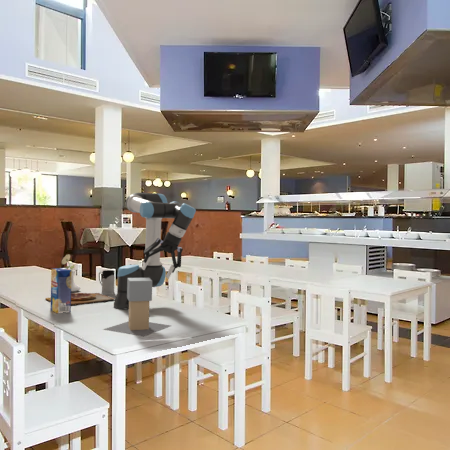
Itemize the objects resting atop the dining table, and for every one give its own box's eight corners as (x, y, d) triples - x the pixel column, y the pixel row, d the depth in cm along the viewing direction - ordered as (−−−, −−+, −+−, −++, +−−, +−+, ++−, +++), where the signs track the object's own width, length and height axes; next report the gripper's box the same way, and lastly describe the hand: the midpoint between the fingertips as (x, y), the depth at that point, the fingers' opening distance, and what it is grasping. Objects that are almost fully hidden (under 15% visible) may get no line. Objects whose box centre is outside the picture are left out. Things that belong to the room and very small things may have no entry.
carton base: (128, 325, 201) (129, 286, 201) (146, 324, 204) (147, 285, 203) (130, 330, 193) (131, 289, 193) (148, 329, 196) (149, 288, 196)
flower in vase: (73, 289, 298) (74, 252, 298) (83, 291, 291) (84, 254, 291) (56, 291, 288) (57, 253, 287) (66, 293, 281) (67, 255, 281)
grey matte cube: (126, 297, 201) (127, 277, 201) (148, 296, 205) (149, 277, 204) (129, 301, 192) (129, 281, 192) (151, 300, 195) (152, 280, 195)
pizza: (96, 294, 284) (96, 289, 284) (118, 301, 264) (119, 295, 264) (42, 300, 259) (42, 294, 259) (62, 308, 239) (62, 301, 239)
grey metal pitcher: (106, 295, 279) (107, 272, 279) (93, 292, 287) (93, 270, 287) (117, 293, 286) (118, 271, 286) (104, 291, 294) (104, 269, 294)
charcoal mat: (134, 320, 213) (134, 319, 213) (171, 326, 203) (172, 325, 203) (103, 330, 193) (103, 329, 193) (143, 337, 184) (143, 336, 184)
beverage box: (63, 308, 237) (64, 267, 237) (70, 311, 229) (71, 270, 228) (50, 309, 233) (51, 268, 232) (57, 313, 224) (58, 270, 224)
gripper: (155, 227, 199) (134, 268, 200) (199, 246, 212) (179, 284, 213) (150, 222, 205) (130, 262, 207) (193, 240, 218) (174, 277, 220)
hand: (155, 273), depth 210 cm, fingers open, 13 cm apart
